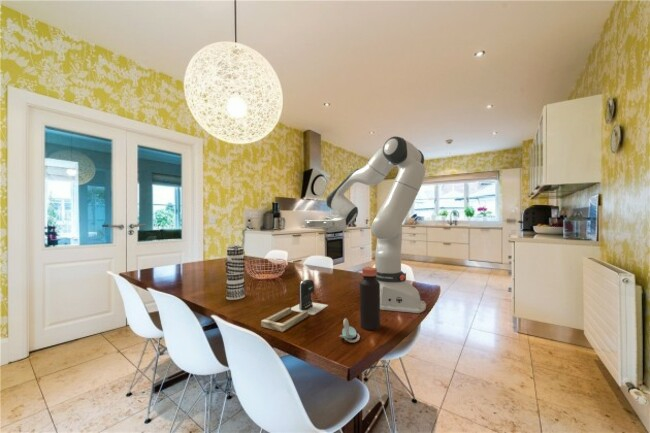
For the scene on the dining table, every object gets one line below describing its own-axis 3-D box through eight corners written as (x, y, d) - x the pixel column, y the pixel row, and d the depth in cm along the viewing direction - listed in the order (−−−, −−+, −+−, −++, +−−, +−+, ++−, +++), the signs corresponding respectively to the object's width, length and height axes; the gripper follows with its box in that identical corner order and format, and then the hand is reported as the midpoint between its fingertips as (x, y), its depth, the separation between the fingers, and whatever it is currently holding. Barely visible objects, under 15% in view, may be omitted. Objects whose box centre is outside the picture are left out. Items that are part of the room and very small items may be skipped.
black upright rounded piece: (306, 311, 104) (306, 282, 104) (298, 309, 106) (298, 281, 106) (315, 306, 110) (315, 279, 110) (307, 304, 112) (307, 278, 112)
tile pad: (328, 305, 112) (328, 305, 112) (313, 315, 101) (313, 314, 101) (304, 301, 117) (304, 301, 117) (288, 310, 107) (288, 309, 107)
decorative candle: (249, 294, 129) (248, 244, 130) (238, 300, 120) (238, 246, 121) (232, 293, 131) (232, 244, 132) (221, 299, 122) (221, 246, 123)
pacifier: (361, 335, 84) (343, 332, 86) (361, 315, 84) (343, 313, 86) (358, 346, 77) (338, 342, 79) (358, 324, 77) (338, 322, 79)
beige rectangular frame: (307, 316, 100) (307, 311, 100) (282, 331, 86) (282, 325, 86) (288, 312, 104) (288, 307, 104) (261, 326, 91) (261, 320, 91)
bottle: (364, 321, 95) (363, 266, 95) (382, 324, 91) (382, 267, 91) (357, 328, 89) (356, 269, 89) (376, 332, 85) (375, 271, 85)
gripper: (312, 217, 136) (297, 217, 124) (348, 217, 127) (335, 217, 114) (312, 229, 136) (297, 230, 124) (348, 230, 126) (335, 231, 114)
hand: (316, 224), depth 119 cm, fingers open, 8 cm apart
